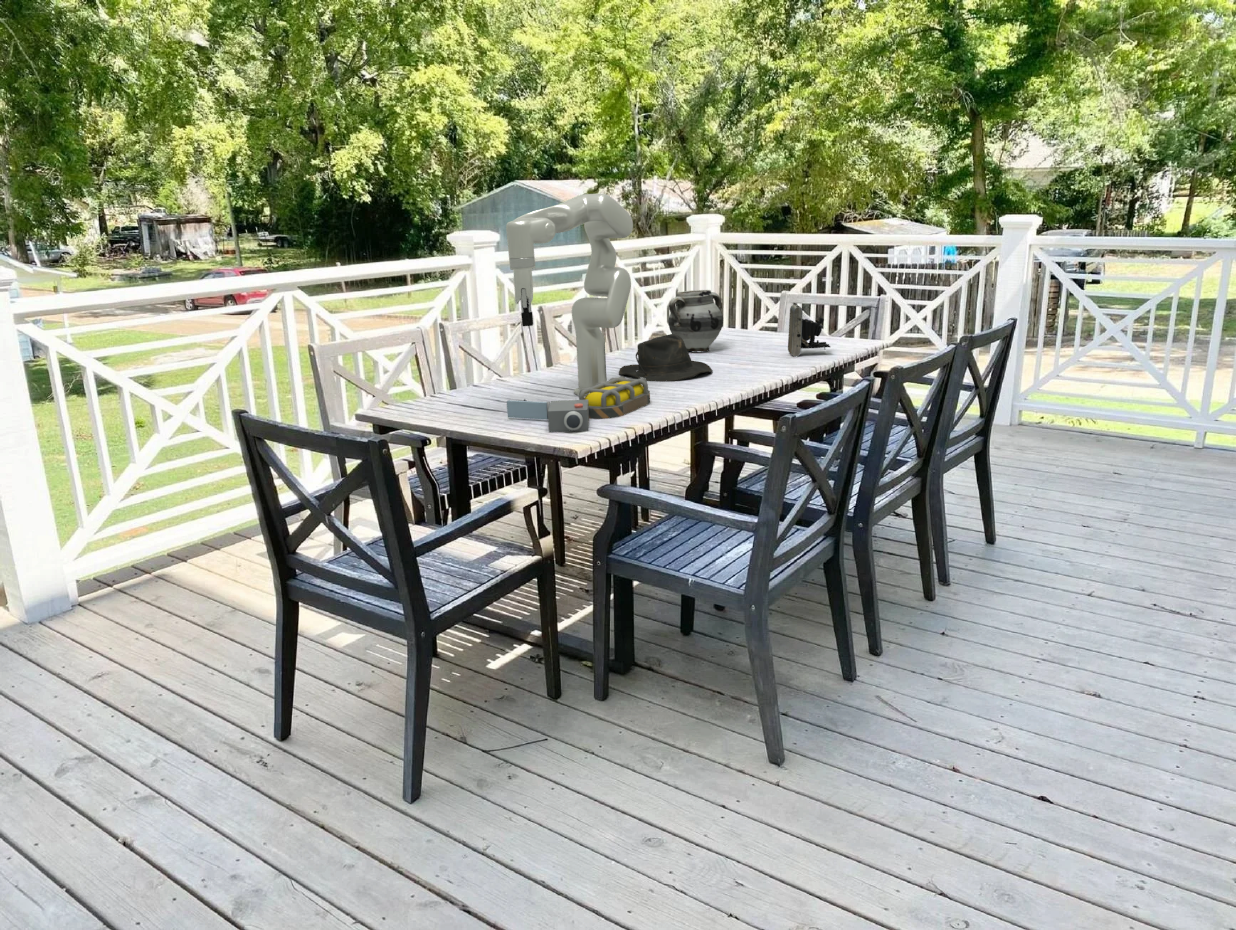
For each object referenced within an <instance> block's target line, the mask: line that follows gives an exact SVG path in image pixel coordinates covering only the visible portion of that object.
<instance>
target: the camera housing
mask: <svg viewBox="0 0 1236 930" xmlns="http://www.w3.org/2000/svg"><path fill="white" fill-rule="evenodd" d="M547 421H548V432H549V433H560V432H561V433H564V432H565V433H566V432H585V431H586V432H588V431H589V428H590V426H589V424H590V419H589V404H588V399H586V400H579V399H569V400H568V399H565V400H550V406H549V410H548V419H547Z"/></svg>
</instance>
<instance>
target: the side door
mask: <svg viewBox="0 0 1236 930" xmlns="http://www.w3.org/2000/svg"><path fill="white" fill-rule="evenodd" d="M550 403H551V401H533V400H532V401H530V400H528V401H527V400H513V399H512V400H511V399H510V400H506V411H507V418H513V419H528V420H529V419H530V420H531V419H533V420H547V421H548V410H549V406H550Z"/></svg>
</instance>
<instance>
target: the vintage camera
mask: <svg viewBox="0 0 1236 930" xmlns="http://www.w3.org/2000/svg"><path fill="white" fill-rule="evenodd" d="M824 321H825V319H824V318H823V317H818V321H817V322H816V321H814V320H810V319H808V318H805V319H804V318H803V308H802V307H801V306H799V305H798V304H797V303H793V304H792V305H791V306H790V307H789V321H788V339H787V340H788V342H787V351H788V352H789V354H790V353H791V354H790V355H791V356H793V357H794V356H797V357H799V356H800V354H801V351H802V350H801V349H822V348H824V349H826V348H831V345H830V344H829V343H827V342H826V341H821V342H820V340H816V337H820V335H821V333H822V330H823V327H824V325H821V324H823V323H824ZM815 340H816V341H815ZM808 341H809V342H808Z"/></svg>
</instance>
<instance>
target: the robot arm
mask: <svg viewBox="0 0 1236 930" xmlns="http://www.w3.org/2000/svg"><path fill="white" fill-rule="evenodd" d="M583 224H584V225H583ZM582 225H583V226H584V231H585V234H586V236H587V239H588V241H589V244H590V249H591V254H590V259H589V263H588V267H587V270H586V274H585V278H584V282H583V288H584V291H585V292H586V294H588V295H590V296H594V297H581V298H579V299H576V300H575V301H574V303H573V305H572V307H571V318H572V323H573V325H574V331H575V340H576V362H577V380H578V384H577V385H578V387H577V388H575V389H574V390H573V391H574V394H575V395H577V396H579V392H580V390H581V389H583V388H590V387H593V386H595V385H596V384H597V383H604V382H607V381H608V380H607V359H606V354H607V353H606V339H605V336H604V334H603V332H602V330H601V328H602V329H603V328H604V329H614V328H617V327H618V326H620V324H621V323H622V321H623V318H624V315H625V311H626V308H627V304H628V300H629V296H630V292H631V287H632V280H631V274H630V273H629V271H628V270H627V269H625V268H623V267H621V266H619V267H618V266H616V262H617V257H618V256H617V251H616V249H615V248H614V245H613V244H612V242H611V239H626V238H628V237H629V236H631V234H632V232H633V228H634V221H633V218H632V215H630V213H629V212H628V211H627V210H626V209H625V208H624V207H623V206H622V205H621V204H620V203H619V202H617V201H616V199H614V198H613V197H612V196H610V195H609V194H607V193H584V194H580V195H579V194H578V195H577V196H574V197H572V198H569V199H568V200H565V201H563V202H561V203H558V204H555V205H551V206H549V207H544V208H541V209H537V210H533V211H531V212H527V213H525V214H522V215H521V216H518V217H516V218H515V219H513V220H511V221H508V222H507V223H506V227H505V228H506V240H507V242H506V243H507V250H508V260H509V261H508V262H509V271H513V285H514V286H513V288H514V300H515V301H514V302H515V304H516V305H517V304H519V302H520V309H521V314H520V315H521V324H522V325H521V326H522V327H532V326H533V325H534V316H533V311H532V302H533V300H534V286H533V285H534V284H533V282H534V281H533V271H532V269H536V258H535V257H536V256H535V244H538V245H540V244H541V245H543V244H547V243H550V242H551V241H552V240H554V237H555V236H556V234H561V233H565V232H570V231H571V230H574V229H575V228H577V227H579V226H582ZM601 389H602V388H601ZM588 394H589V393H588ZM588 394H585V396H587V395H588ZM585 396H584V397H585Z"/></svg>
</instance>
